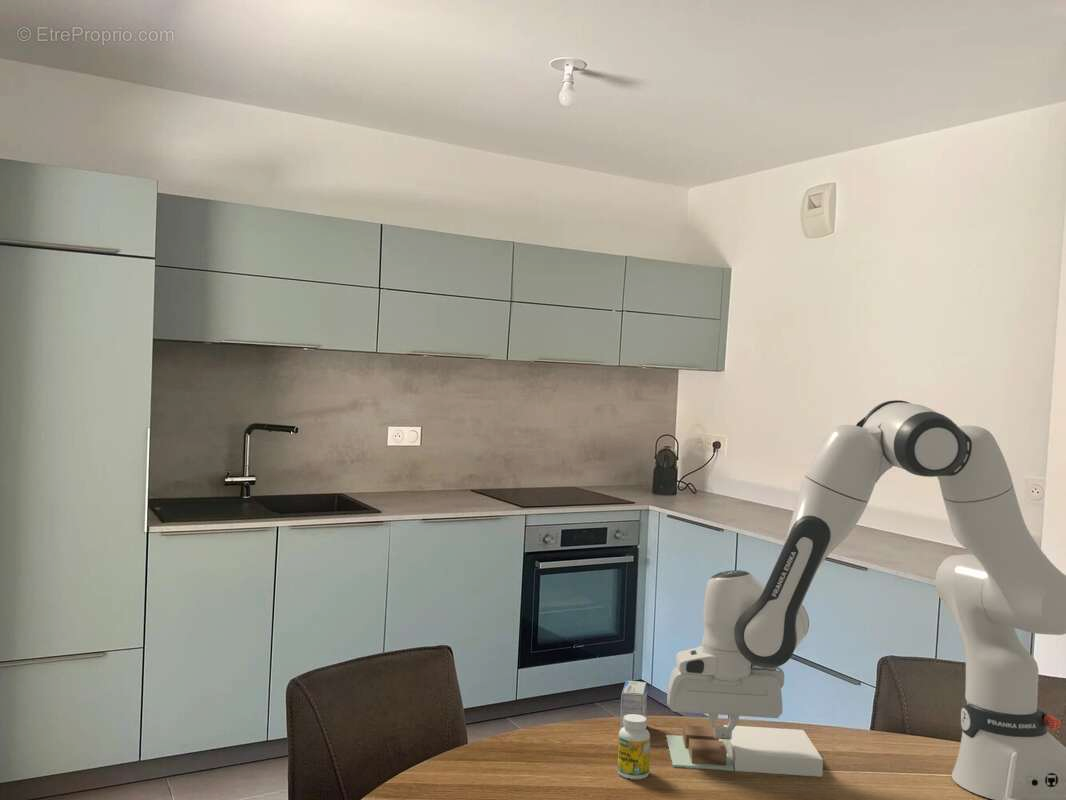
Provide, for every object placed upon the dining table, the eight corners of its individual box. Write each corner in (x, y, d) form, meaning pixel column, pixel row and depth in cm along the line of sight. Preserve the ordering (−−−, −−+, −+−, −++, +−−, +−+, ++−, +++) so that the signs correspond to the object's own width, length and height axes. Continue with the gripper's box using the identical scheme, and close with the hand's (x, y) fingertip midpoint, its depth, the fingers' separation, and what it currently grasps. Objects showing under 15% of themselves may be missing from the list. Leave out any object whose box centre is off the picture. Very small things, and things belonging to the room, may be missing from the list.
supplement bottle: (653, 772, 153) (656, 717, 153) (640, 783, 149) (642, 726, 149) (626, 764, 156) (628, 710, 156) (611, 774, 152) (614, 718, 152)
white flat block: (802, 745, 168) (803, 730, 168) (822, 776, 154) (823, 759, 154) (722, 740, 169) (723, 724, 169) (735, 770, 155) (735, 753, 155)
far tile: (714, 740, 168) (715, 727, 168) (718, 750, 163) (718, 736, 163) (682, 738, 169) (683, 725, 169) (685, 748, 164) (685, 734, 164)
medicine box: (642, 740, 168) (644, 694, 168) (619, 737, 169) (621, 691, 169) (645, 725, 176) (647, 681, 176) (623, 723, 177) (625, 679, 177)
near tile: (721, 754, 161) (722, 740, 161) (726, 765, 156) (726, 751, 156) (688, 752, 162) (689, 738, 162) (691, 763, 157) (692, 749, 157)
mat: (721, 740, 169) (721, 738, 169) (733, 770, 155) (734, 768, 155) (665, 737, 170) (666, 734, 170) (672, 766, 156) (673, 764, 156)
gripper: (781, 659, 162) (777, 735, 162) (668, 652, 163) (664, 727, 163) (788, 670, 155) (785, 749, 155) (671, 662, 157) (667, 740, 157)
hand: (722, 738), depth 159 cm, fingers closed
